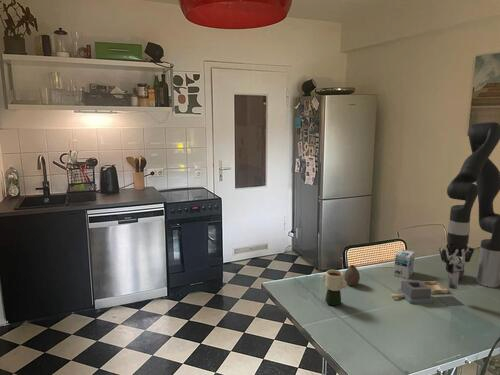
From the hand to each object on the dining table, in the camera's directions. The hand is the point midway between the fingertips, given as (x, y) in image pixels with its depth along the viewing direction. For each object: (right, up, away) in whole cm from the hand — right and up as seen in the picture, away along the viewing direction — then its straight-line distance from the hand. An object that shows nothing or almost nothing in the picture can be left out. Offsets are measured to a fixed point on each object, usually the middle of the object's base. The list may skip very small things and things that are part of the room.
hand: (454, 271), depth 151 cm
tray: (-2, -11, +14) cm, 18 cm away
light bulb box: (-8, -8, +31) cm, 33 cm away
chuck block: (-16, -12, +5) cm, 21 cm away
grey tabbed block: (0, -7, +1) cm, 7 cm away
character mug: (-50, -13, 0) cm, 51 cm away
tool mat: (-1, -13, +3) cm, 13 cm away
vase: (-37, -10, +18) cm, 42 cm away
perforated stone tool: (+14, -10, +26) cm, 31 cm away
